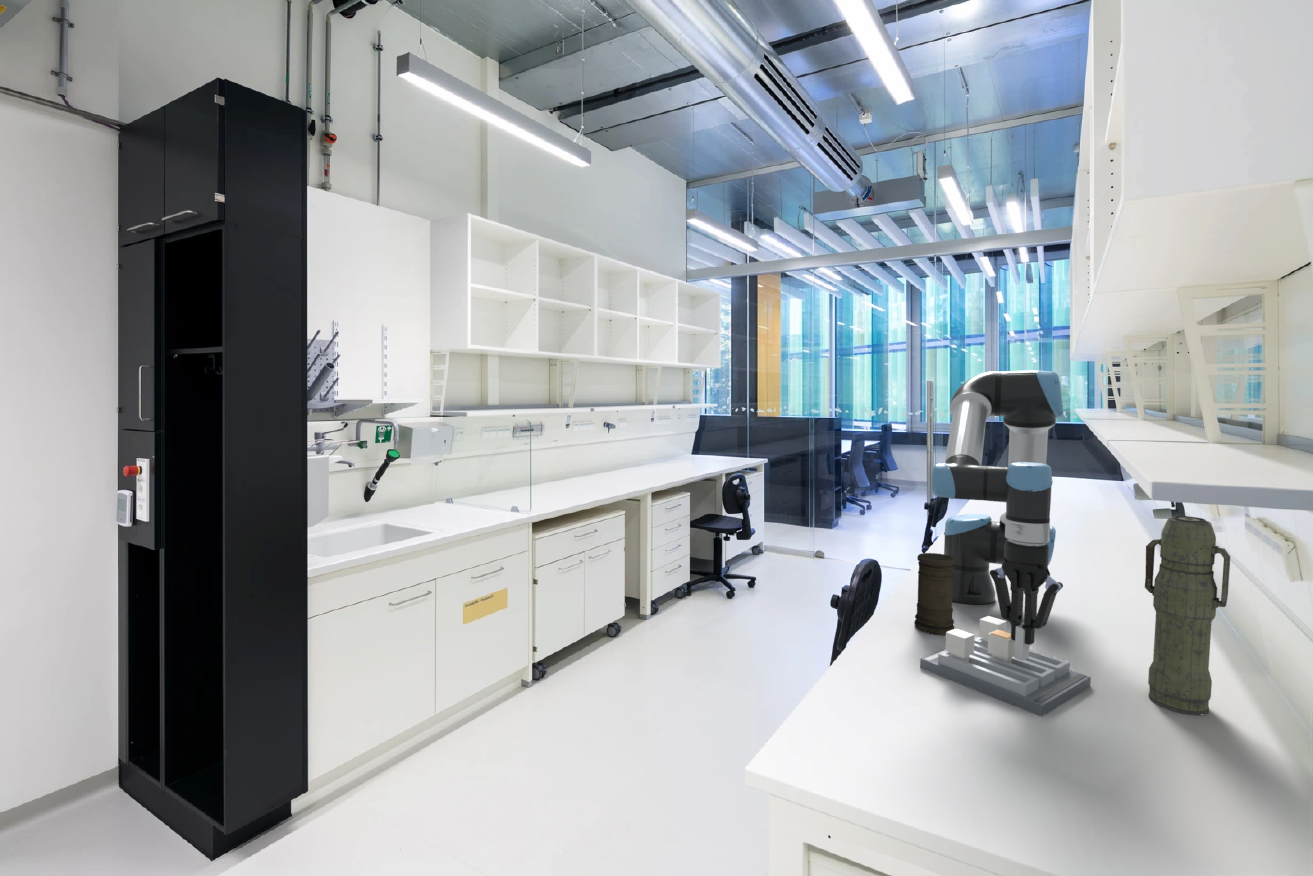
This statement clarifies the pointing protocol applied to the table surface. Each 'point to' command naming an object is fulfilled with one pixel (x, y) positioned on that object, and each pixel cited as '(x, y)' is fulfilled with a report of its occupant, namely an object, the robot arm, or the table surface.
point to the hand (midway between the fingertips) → (1021, 657)
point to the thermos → (1184, 613)
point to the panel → (1005, 671)
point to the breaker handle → (1001, 645)
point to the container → (935, 593)
